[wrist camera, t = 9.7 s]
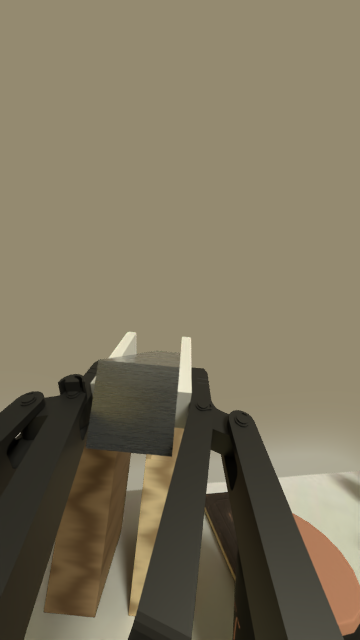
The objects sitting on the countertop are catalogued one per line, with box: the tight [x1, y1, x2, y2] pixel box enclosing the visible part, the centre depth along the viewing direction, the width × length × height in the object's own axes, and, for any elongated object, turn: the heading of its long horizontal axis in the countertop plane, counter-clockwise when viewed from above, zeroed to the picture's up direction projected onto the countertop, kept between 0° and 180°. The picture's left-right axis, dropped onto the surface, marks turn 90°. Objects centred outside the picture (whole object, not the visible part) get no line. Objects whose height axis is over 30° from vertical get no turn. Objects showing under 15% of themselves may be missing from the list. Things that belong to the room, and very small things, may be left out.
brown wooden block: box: [44, 440, 131, 617], centre depth 34 cm, size 7×13×30 cm, turn 1°
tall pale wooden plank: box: [129, 428, 184, 616], centre depth 33 cm, size 8×12×22 cm, turn 1°
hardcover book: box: [204, 492, 238, 581], centre depth 37 cm, size 16×23×2 cm
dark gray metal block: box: [86, 351, 180, 457], centre depth 20 cm, size 4×22×4 cm, turn 0°
